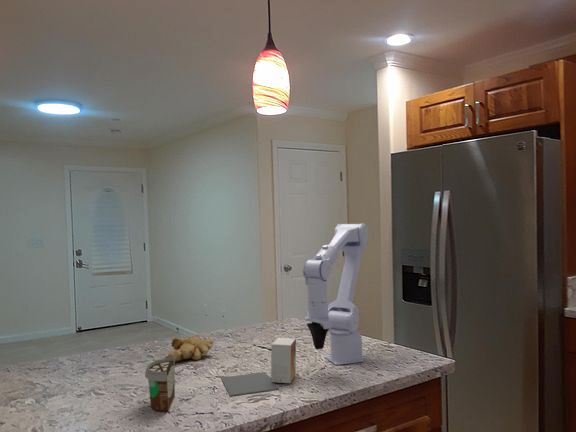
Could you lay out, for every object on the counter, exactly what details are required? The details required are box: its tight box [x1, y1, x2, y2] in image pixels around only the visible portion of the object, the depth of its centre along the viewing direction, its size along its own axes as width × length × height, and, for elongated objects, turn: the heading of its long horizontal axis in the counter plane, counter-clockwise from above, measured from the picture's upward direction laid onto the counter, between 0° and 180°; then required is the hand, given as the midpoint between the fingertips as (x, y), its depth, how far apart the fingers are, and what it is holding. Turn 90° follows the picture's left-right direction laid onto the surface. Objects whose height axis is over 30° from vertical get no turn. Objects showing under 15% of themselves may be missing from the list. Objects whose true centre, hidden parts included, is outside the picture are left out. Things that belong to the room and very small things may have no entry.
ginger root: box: [165, 336, 214, 362], centre depth 155 cm, size 16×16×8 cm
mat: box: [220, 371, 280, 397], centre depth 129 cm, size 13×14×1 cm
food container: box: [144, 357, 176, 413], centre depth 116 cm, size 12×6×10 cm, turn 5°
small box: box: [270, 337, 297, 384], centre depth 132 cm, size 8×6×10 cm
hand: (319, 348), depth 135 cm, fingers closed
